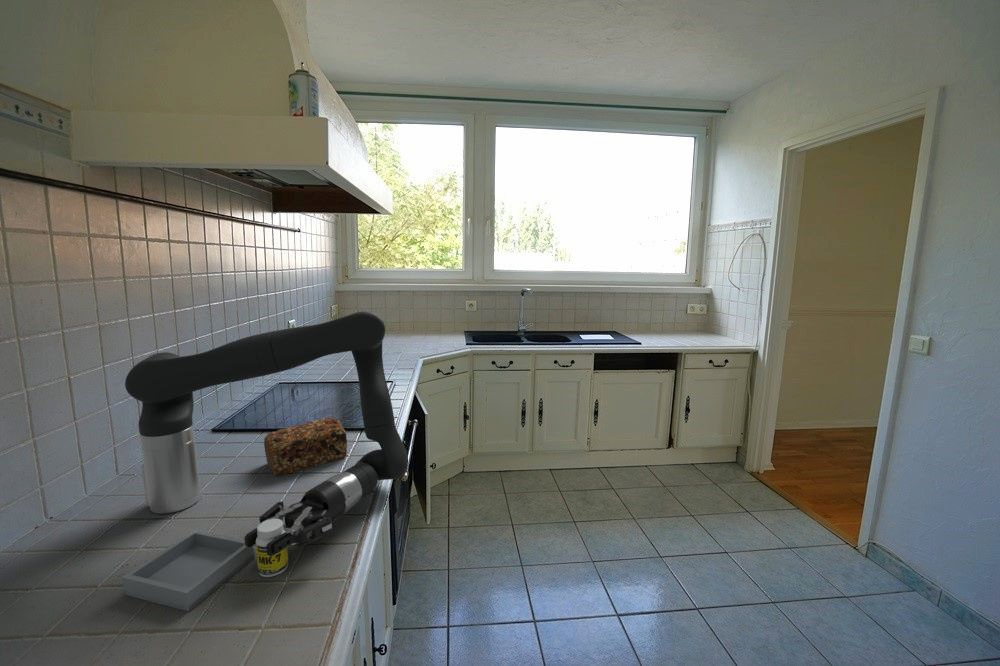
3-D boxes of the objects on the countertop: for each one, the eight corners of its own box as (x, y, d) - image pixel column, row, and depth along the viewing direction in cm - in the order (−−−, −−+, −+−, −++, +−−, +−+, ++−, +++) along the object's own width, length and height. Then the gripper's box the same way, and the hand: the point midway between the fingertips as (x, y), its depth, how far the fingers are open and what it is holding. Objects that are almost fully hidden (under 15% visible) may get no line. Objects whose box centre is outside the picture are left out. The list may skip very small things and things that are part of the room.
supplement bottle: (255, 580, 76) (250, 535, 75) (261, 562, 81) (257, 519, 79) (286, 575, 78) (282, 530, 76) (291, 557, 82) (287, 515, 81)
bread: (336, 445, 130) (334, 412, 128) (349, 459, 122) (347, 423, 120) (264, 463, 119) (261, 427, 117) (273, 479, 110) (270, 441, 109)
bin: (125, 594, 73) (122, 577, 72) (197, 545, 85) (195, 530, 85) (189, 611, 70) (186, 593, 69) (254, 557, 82) (252, 541, 81)
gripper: (306, 473, 93) (226, 515, 78) (360, 488, 87) (285, 537, 72) (308, 506, 94) (230, 554, 79) (361, 523, 89) (289, 579, 73)
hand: (257, 546), depth 76 cm, fingers closed on supplement bottle, 4 cm apart
